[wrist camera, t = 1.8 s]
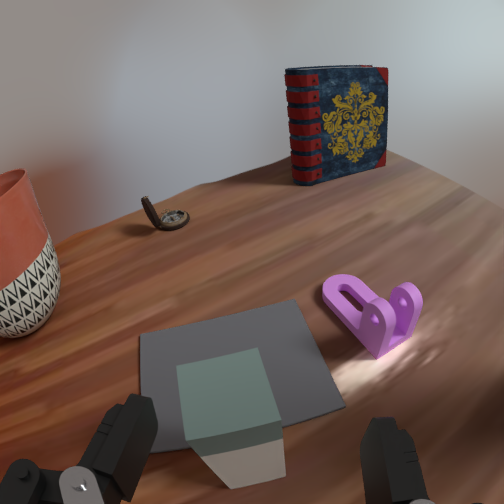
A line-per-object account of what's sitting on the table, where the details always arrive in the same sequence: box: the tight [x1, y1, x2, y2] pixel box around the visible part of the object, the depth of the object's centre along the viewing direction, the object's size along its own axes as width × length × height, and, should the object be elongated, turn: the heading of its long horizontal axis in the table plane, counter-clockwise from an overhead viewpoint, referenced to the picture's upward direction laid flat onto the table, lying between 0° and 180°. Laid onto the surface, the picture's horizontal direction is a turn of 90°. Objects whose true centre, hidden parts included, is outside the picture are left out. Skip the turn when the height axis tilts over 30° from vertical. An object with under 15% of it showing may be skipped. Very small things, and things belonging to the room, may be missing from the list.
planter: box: [0, 168, 61, 338], centre depth 36 cm, size 20×20×21 cm
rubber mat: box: [140, 299, 346, 453], centre depth 33 cm, size 20×16×1 cm
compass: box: [141, 196, 190, 230], centre depth 58 cm, size 8×8×7 cm
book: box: [285, 65, 388, 186], centre depth 64 cm, size 25×7×25 cm, turn 114°
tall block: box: [176, 347, 286, 489], centre depth 20 cm, size 5×5×14 cm
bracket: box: [322, 274, 423, 359], centre depth 35 cm, size 13×6×7 cm, turn 25°
